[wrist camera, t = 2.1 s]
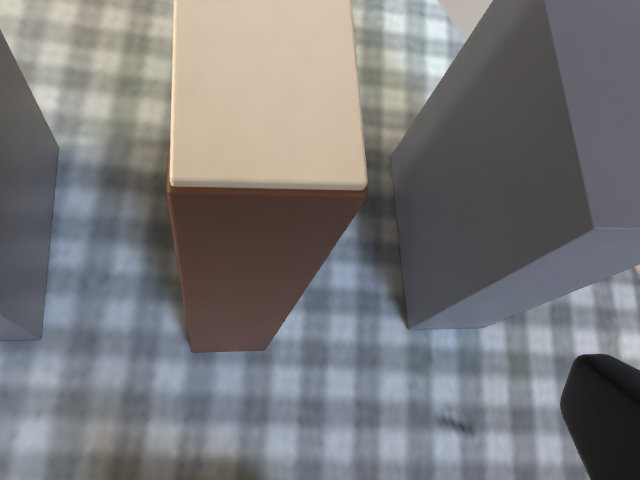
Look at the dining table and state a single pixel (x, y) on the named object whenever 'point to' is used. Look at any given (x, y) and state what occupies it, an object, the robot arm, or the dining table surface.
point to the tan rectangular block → (260, 159)
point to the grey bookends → (441, 170)
